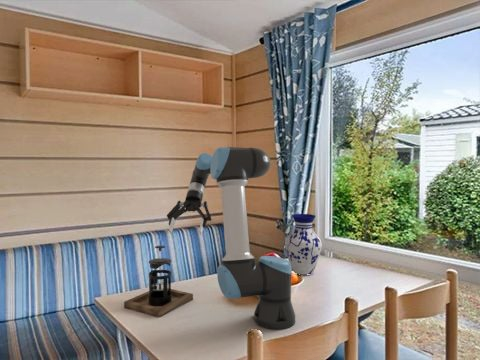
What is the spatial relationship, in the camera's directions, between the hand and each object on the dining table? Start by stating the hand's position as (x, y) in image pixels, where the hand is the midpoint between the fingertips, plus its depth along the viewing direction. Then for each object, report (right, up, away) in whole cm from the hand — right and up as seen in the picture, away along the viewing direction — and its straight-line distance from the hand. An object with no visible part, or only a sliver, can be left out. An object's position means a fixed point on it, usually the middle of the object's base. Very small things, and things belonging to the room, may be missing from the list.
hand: (185, 232), depth 168 cm
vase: (+56, -26, +35) cm, 71 cm away
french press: (-9, -27, -10) cm, 30 cm away
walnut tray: (-9, -28, -10) cm, 31 cm away
